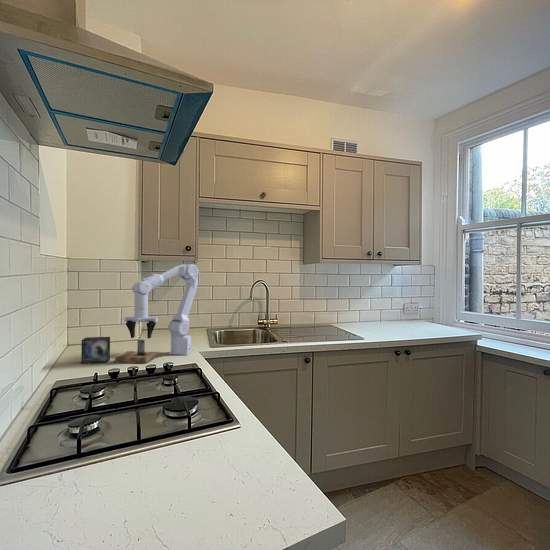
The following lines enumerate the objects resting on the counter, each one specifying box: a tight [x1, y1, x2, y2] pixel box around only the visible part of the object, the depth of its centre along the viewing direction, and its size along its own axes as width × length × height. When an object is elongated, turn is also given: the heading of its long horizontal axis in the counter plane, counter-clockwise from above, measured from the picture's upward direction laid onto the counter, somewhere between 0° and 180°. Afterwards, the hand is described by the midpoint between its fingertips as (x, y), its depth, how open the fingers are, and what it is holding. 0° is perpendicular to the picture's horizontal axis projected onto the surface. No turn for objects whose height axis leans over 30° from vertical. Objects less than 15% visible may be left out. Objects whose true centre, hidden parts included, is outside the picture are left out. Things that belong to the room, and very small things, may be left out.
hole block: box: [114, 350, 158, 364], centre depth 157 cm, size 14×11×2 cm
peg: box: [136, 338, 146, 356], centre depth 157 cm, size 3×3×9 cm
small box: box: [80, 336, 111, 365], centre depth 153 cm, size 11×6×10 cm, turn 105°
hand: (141, 337), depth 157 cm, fingers open, 7 cm apart
